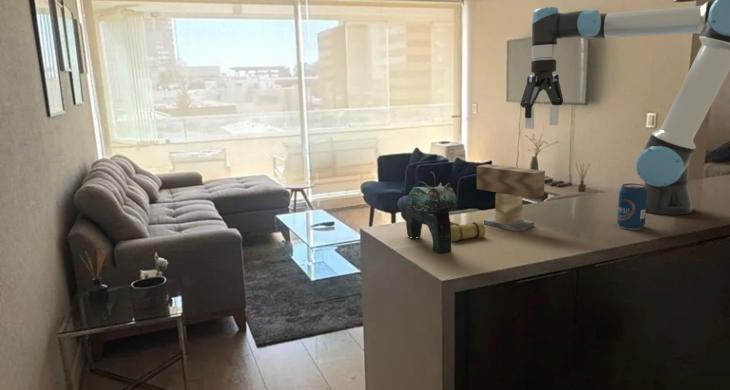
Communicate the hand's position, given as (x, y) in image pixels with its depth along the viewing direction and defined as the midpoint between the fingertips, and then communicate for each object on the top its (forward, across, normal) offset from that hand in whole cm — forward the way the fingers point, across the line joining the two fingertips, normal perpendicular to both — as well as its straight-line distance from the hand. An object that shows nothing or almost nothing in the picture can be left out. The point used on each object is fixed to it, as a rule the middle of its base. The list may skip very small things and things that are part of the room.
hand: (541, 126), depth 166 cm
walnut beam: (+17, +26, +6) cm, 31 cm away
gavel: (+27, +42, -2) cm, 50 cm away
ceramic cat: (+27, +56, +3) cm, 62 cm away
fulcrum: (+27, +26, +6) cm, 37 cm away
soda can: (+27, +4, +32) cm, 42 cm away
